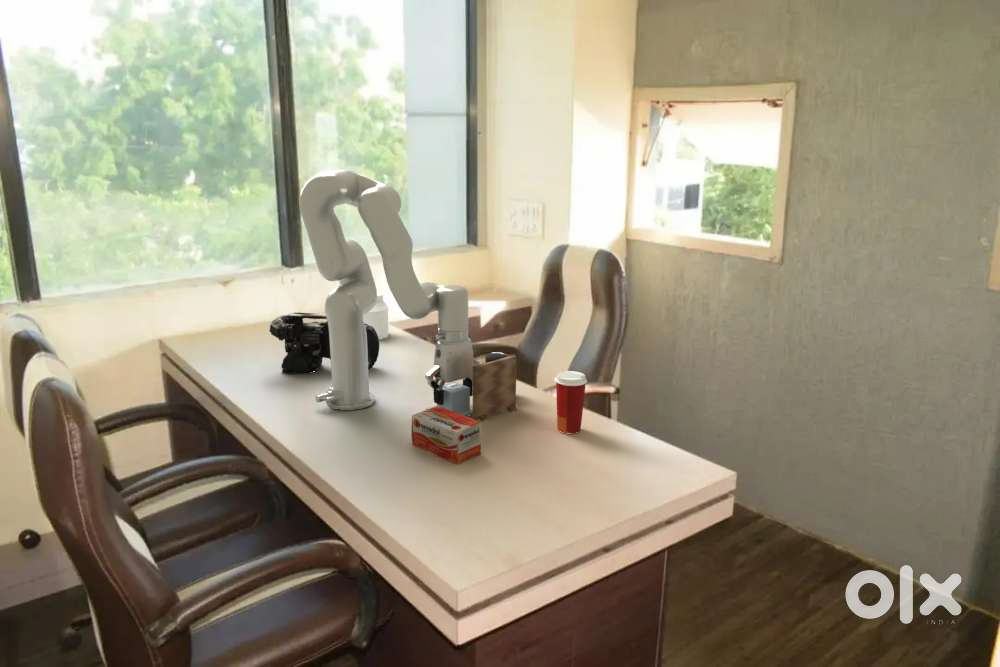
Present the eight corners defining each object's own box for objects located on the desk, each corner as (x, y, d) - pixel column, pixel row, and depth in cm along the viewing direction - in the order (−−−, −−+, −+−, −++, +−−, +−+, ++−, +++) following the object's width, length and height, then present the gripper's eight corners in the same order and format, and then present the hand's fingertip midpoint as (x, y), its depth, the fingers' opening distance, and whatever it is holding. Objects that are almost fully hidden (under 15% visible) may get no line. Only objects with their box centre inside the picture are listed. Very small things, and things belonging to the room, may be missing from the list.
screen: (479, 422, 191) (479, 368, 187) (468, 417, 194) (469, 364, 190) (519, 408, 200) (520, 357, 197) (508, 404, 203) (509, 354, 199)
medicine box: (411, 446, 177) (410, 413, 175) (436, 436, 183) (436, 404, 181) (457, 466, 167) (457, 432, 165) (482, 454, 173) (483, 421, 171)
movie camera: (265, 378, 218) (264, 318, 215) (279, 362, 236) (279, 306, 232) (375, 382, 220) (376, 323, 216) (381, 366, 238) (382, 310, 234)
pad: (451, 421, 191) (451, 419, 191) (426, 410, 198) (426, 408, 198) (480, 411, 198) (480, 409, 198) (455, 401, 205) (455, 399, 205)
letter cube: (451, 415, 194) (451, 392, 192) (437, 408, 198) (436, 386, 196) (469, 409, 198) (469, 386, 196) (454, 403, 202) (454, 381, 200)
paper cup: (587, 426, 189) (590, 372, 186) (580, 437, 182) (583, 382, 179) (557, 421, 192) (559, 368, 188) (548, 433, 185) (550, 378, 181)
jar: (351, 334, 267) (350, 292, 263) (376, 330, 273) (374, 289, 269) (367, 342, 258) (366, 298, 254) (392, 337, 264) (391, 295, 260)
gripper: (435, 344, 184) (436, 411, 189) (488, 332, 196) (488, 395, 200) (416, 338, 189) (417, 403, 194) (469, 326, 201) (469, 388, 205)
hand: (453, 399), depth 197 cm, fingers open, 9 cm apart
